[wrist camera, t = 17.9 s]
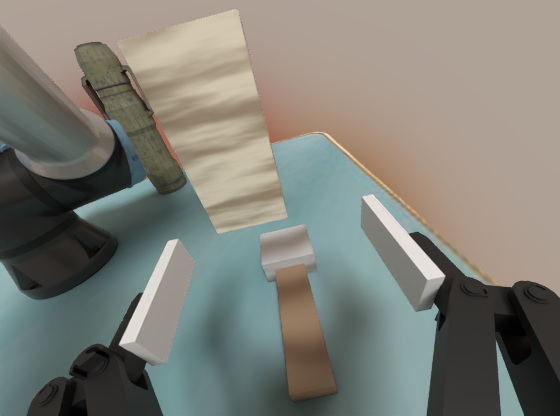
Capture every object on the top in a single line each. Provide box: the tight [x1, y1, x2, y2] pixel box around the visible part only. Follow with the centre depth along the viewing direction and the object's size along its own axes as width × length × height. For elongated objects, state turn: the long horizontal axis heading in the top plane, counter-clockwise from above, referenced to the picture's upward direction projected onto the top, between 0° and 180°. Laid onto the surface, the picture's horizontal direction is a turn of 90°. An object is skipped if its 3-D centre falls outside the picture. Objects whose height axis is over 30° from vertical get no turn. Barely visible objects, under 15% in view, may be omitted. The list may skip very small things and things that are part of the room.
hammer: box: [260, 224, 337, 402], centre depth 25 cm, size 19×7×4 cm, turn 7°
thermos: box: [74, 42, 187, 194], centre depth 54 cm, size 9×12×35 cm
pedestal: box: [117, 9, 288, 234], centre depth 36 cm, size 10×14×30 cm
